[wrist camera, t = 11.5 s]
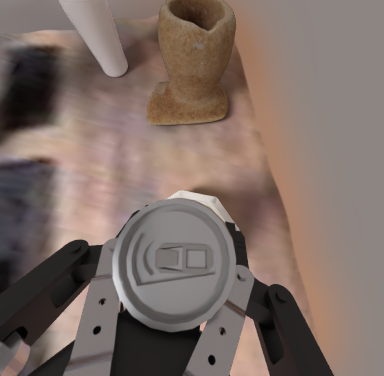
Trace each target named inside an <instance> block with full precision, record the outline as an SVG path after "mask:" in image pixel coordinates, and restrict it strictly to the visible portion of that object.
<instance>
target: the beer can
mask: <svg viewBox="0 0 384 376" xmlns="http://www.w3.org/2000/svg"><path fill="white" fill-rule="evenodd" d="M112 262H113V281H114V284H115V287H116V290H117V293H118V296H119V299H120V300H121V302H122V303H123V304H124V306H125V307H126V308H127V310H128V311H129V312H130V314H131V315H132V316H133V317H134V318H136V319H137V320H139V321H141V322H142V323H144V324H145V325H147V326H148V327H150V328H153V329H158V330H162V331H167V332H176V331H183V330H189V329H193V328H195V327H197V326H198V325H200V324H202V323H204V322H205V321H207V320H209V319H211V318H212V317H213V315H214V314H215V313H216V312H217V311H218V310H219V309H220V307H221V306H222V305H223V304H224V303H225V302H226V299H227V297H228V295H229V292H230V290H231V288H232V285H233V283H234V277H235V268H236V254H235V248H234V243H233V238H232V236H231V234H230V232H229V230H228V228H227V227H226V225H225V223H224V221H223V220H222V219H221V218H220V217H219V216H218V215H217V214H216V213H215V212H214V211H213V210H212V209H211V208H209V207H207V206H205V205H203V204H201V203H199V202H198V201H196V200H190V199H184V198H172V199H165V200H160V201H157V202H155V203H153V204H151V205H148V206H146V207H144V208H142V209H141V210H140V211H139V212H138V213H137V214H136V215H134V216H133V217H132V218H131V219H130V220H129V221H128V222H127V224H126V225H125V227H124V229H123V230H122V232H121V234H120V235H119V237H118V239H117V243H116V246H115V250H114V254H113V257H112Z"/></svg>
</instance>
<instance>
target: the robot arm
mask: <svg viewBox="0 0 384 376" xmlns="http://www.w3.org/2000/svg"><path fill="white" fill-rule="evenodd" d="M146 206H148V205H146ZM146 206H145V207H146ZM139 211H140V210H138V211H136V212H135V213H133V214H132V216H131V217H130V219H131V218H132V217H133V216H134V215H136V214H137V213H138V212H139ZM130 219H129V220H130ZM129 220H128V221H129ZM128 221H127V222H128ZM224 223H225V225H226V227H227V228H228V230H229V232H230V234H231V236H232V238H233V243H234V248H235V254H236V268H235V277H234V283H233V285H232V288H231V290H230V292H229V295H228V297H227V299H226V302H225V303H224V304H223V305H222V306H221V307H220V309H219V310H218V311H217V312H216V313H215V314H214V315H213V317H212V318H211V319H209V320H208V321H207V323H206V325H205V328H204V330H203V332H202V331H201V330H200V325H198V326H197V327H195V328H193V329H189V330H183V331H176V332H167V331H162V330H158V329H153V328H150V327H148V326H147V325H145V324H144V323H142V322H141V321H139V320H137V319H136V318H134V317H133V316H132V315H131V314H130V312H129V311H128V310H127V308H126V307H125V306H124V304H123V303H122V302H121V300H120V299H119V296H118V293H117V290H116V287H115V284H114V281H113V262H112V257H113V254H114V250H115V246H116V243H117V239H118V237H119V235H120V234H121V232H122V230H123V229H124V227H125V225H126V224H127V223H126V224H125V225H124V227H123V228H122V229H121V231H120V232H119V234H118V235H117V236H116V238H114V239H111V240H109V241H107V242H106V243H105V244H104V245H94V246H89V244H88V242H87V241H85V240H74V241H72V242H69V243H68V244H66V245H65V246H64V247H62V248H61V249H60V250H58V251H57V252H56V253H54V254H53V255H52V256H50V257H49V258H48V259H46V260H45V261H44V262H42V263H41V264H40V265H38V266H37V267H36V268H34V269H33V270H32V271H30V272H29V273H28V274H26V275H25V276H24V277H22V278H21V279H20V280H18V281H17V282H16V283H14V284H13V285H12V286H10V287H9V288H8V289H6V290H5V291H4V292H2V293H1V294H0V376H16V375H17V374H18V373H19V372H20V371H21V370H22V368H23V366H24V364H25V363H26V361H27V359H28V356H29V353H30V347H31V346H32V344H33V343H34V342H35V341H36V340H37V339H38V338H39V337H40V336H41V335H42V334H43V333H44V332H45V331H46V329H47V328H48V327H49V326H50V325H51V324H52V323H53V322H54V321H55V320H56V319H57V318H58V317H59V315H60V314H61V313H62V312H63V311H64V310H65V309H66V308H67V307H68V306H69V305H70V304H71V303H72V301H73V300H74V299H75V298H76V297H77V296H78V295H79V294H80V293H81V292H82V291H83V290H84V289H85V288H86V286H87V285H88V284H89V283H90V285H89V289H88V293H87V297H86V301H85V304H84V308H83V312H82V316H81V320H80V324H79V327H78V331H77V335H76V339H75V340H74V341H73V342H71V343H70V344H69V345H67V346H66V347H65V348H63V349H62V350H61V351H59V352H58V353H57V354H55V355H54V356H53V357H51V358H50V359H49V360H47V361H46V362H45V363H43V364H42V365H41V366H39V367H38V368H37V369H35V370H34V371H33V372H32V373H30V374H29V375H28V376H230V375H229V374H230V370H231V367H232V363H233V359H234V356H235V352H236V349H237V345H238V342H239V338H240V335H241V331H242V328H243V324H244V321H245V316H248V317H250V318H251V319H253V320H254V324H255V327H256V330H257V334H258V337H259V340H260V344H261V347H262V351H263V354H264V357H265V361H266V364H267V367H268V371H269V374H270V376H334V375H333V373H332V371H331V369H330V367H329V365H328V363H327V361H326V359H325V357H324V355H323V354H322V352H321V350H320V348H319V346H318V344H317V342H316V340H315V338H314V336H313V334H312V332H311V330H310V328H309V326H308V325H307V323H306V321H305V319H304V317H303V315H302V313H301V311H300V309H299V307H298V305H297V303H296V301H295V299H294V297H293V296H292V294H291V293H290V292H289V291H288V290H287V289H286V288H285V287H283V286H281V285H278V284H273V285H271V286H270V287H269V286H267V285H266V284H264V283H262V282H260V281H258V280H257V279H256V278H255V277H254V276H253V274H252V272H251V271H250V270H249V266H248V259H247V252H246V246H245V239H244V236H243V234H242V233H241V231H236V229H235V223H231V222H227V221H225V222H224Z"/></svg>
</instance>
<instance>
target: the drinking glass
mask: <svg viewBox="0 0 384 376" xmlns="http://www.w3.org/2000/svg"><path fill="white" fill-rule="evenodd" d="M58 2H59V3H60V5H61V7H62V8H63V10H64V11H65V13H66V15H67V16H68V18H69V19H70V21H71V22H72V24H73V25H74V27H75V28H76V30H77V31H78V33H79V34H80V36H81V37H82V38H83V40H84V41H85V43H86V44H87V46H88V47H89V49H90V50H91V52H92V53H93V55H94V56H95V58H96V59H97V61H98V62H99V64H100V66H101V67H102V69H103V71H104V72H105V73H106V74H107V75H108V76H110V77H119V76H122V75H123V74H125V73H126V71H127V69H128V63H127V60H126V57H125V55H124V52H123V49H122V45H121V42H120V39H119V36H118V33H117V29H116V26H115V23H114V20H113V16H112V13H111V10H110V7H109V4H108V1H107V0H58Z"/></svg>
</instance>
